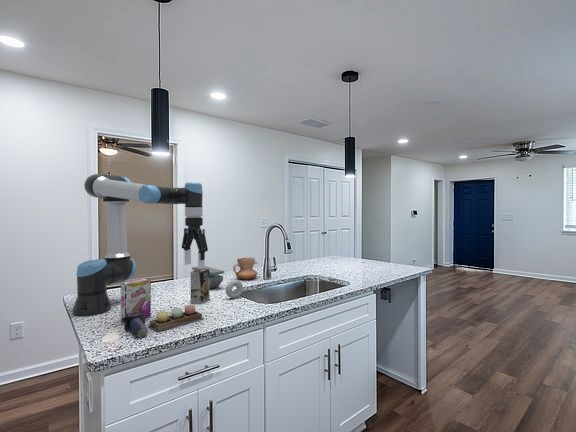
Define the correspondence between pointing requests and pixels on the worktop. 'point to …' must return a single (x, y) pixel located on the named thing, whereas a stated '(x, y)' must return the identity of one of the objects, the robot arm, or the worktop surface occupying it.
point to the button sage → (176, 312)
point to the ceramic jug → (245, 268)
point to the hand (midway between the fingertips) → (194, 265)
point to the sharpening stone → (213, 276)
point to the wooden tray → (175, 321)
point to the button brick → (189, 309)
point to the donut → (238, 290)
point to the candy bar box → (136, 297)
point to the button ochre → (162, 316)
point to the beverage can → (136, 324)
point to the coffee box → (199, 286)
